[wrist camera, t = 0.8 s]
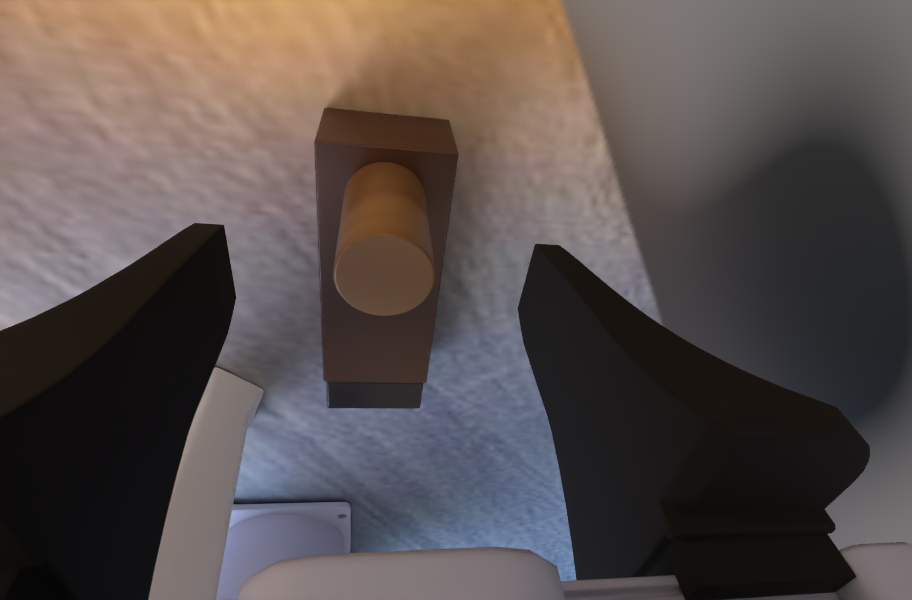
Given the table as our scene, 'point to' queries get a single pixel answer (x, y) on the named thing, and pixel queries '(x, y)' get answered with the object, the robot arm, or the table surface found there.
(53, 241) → the table surface
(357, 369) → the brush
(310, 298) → the table surface
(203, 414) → the perfume bottle
